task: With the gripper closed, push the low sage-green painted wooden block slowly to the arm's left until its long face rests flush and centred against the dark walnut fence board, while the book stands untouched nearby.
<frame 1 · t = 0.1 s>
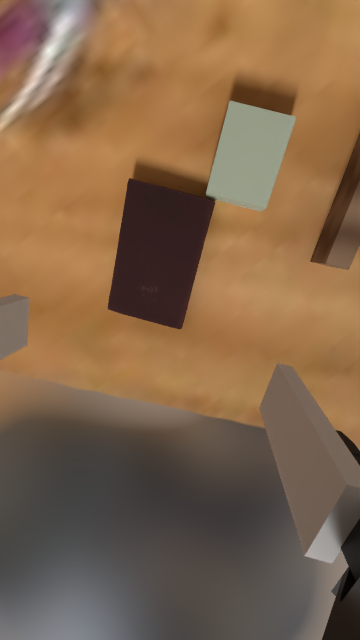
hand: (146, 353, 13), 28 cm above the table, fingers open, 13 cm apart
block: (244, 166, 34), on the table
board: (350, 190, 33), on the table
book: (159, 259, 40), on the table
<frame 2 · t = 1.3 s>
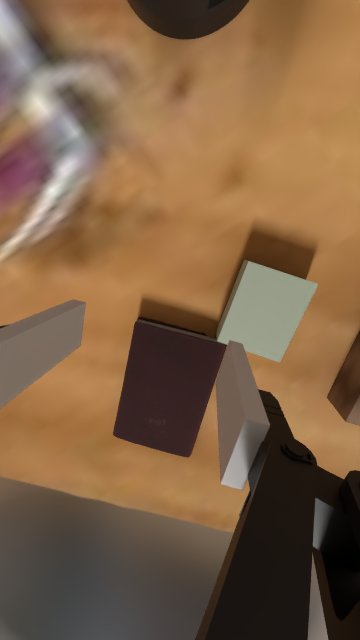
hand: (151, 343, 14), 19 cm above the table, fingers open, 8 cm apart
block: (258, 306, 33), on the table
book: (167, 383, 38), on the table
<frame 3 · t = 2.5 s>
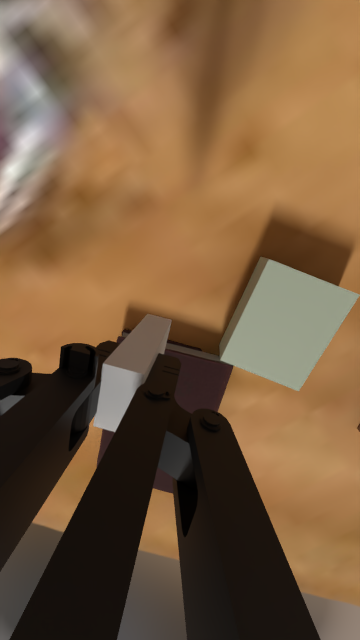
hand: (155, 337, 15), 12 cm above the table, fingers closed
block: (274, 316, 26), on the table
book: (161, 408, 31), on the table
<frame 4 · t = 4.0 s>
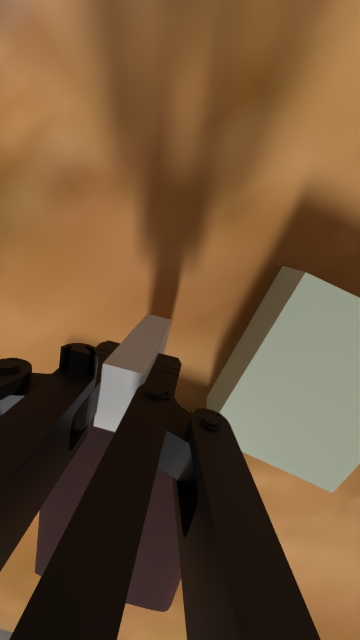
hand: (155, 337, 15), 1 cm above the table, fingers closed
block: (295, 361, 16), on the table
book: (128, 483, 22), on the table
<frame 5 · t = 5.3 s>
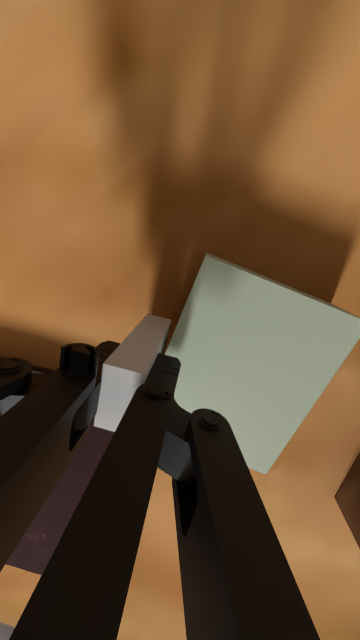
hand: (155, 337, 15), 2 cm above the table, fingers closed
block: (232, 347, 17), on the table
book: (58, 461, 22), on the table
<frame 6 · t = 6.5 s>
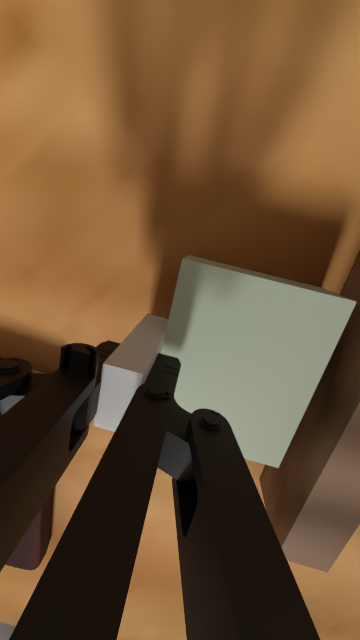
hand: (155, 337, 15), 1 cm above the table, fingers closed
block: (229, 344, 17), on the table
board: (332, 372, 16), on the table
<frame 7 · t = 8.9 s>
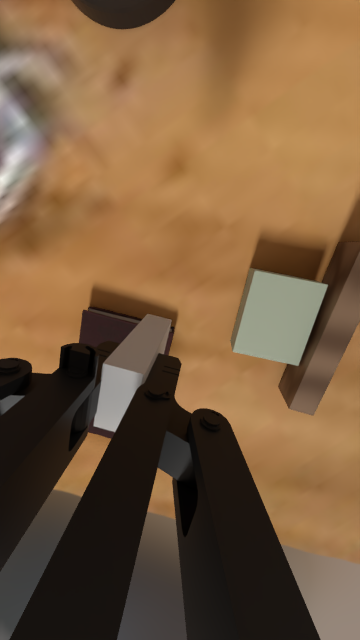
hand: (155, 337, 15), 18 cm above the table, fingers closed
block: (269, 311, 33), on the table
board: (317, 324, 32), on the table
book: (123, 373, 38), on the table
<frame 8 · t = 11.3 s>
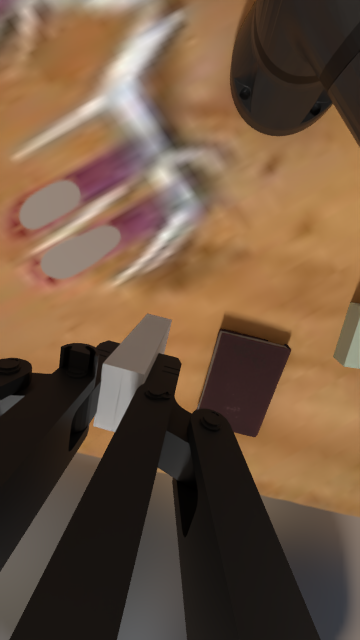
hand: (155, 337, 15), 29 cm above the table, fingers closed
book: (238, 379, 48), on the table
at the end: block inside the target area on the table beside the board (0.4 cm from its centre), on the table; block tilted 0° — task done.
